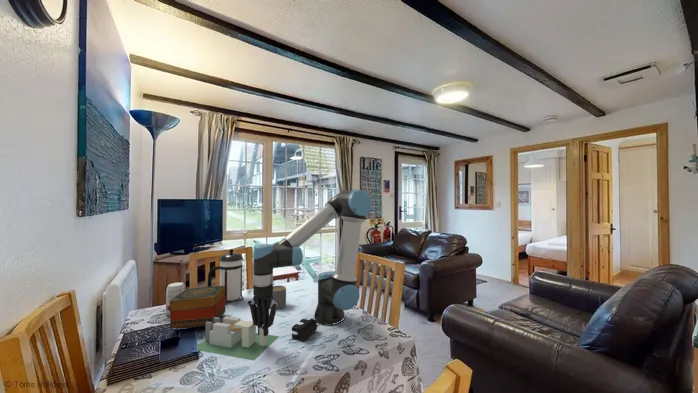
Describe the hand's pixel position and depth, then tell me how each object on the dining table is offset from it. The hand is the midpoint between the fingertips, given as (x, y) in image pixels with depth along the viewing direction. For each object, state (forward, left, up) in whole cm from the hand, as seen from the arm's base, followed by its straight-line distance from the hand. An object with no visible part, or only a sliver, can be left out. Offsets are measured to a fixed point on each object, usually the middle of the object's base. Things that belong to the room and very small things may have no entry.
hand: (263, 343), depth 109 cm
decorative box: (+42, -12, -3) cm, 43 cm away
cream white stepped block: (+8, 0, -1) cm, 8 cm away
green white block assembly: (+12, 0, -2) cm, 12 cm away
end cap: (-12, -13, -3) cm, 18 cm away
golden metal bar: (+16, 0, +4) cm, 17 cm away
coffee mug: (+19, -41, -3) cm, 45 cm away
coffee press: (+48, -40, -3) cm, 62 cm away
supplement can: (+63, -18, -3) cm, 65 cm away
